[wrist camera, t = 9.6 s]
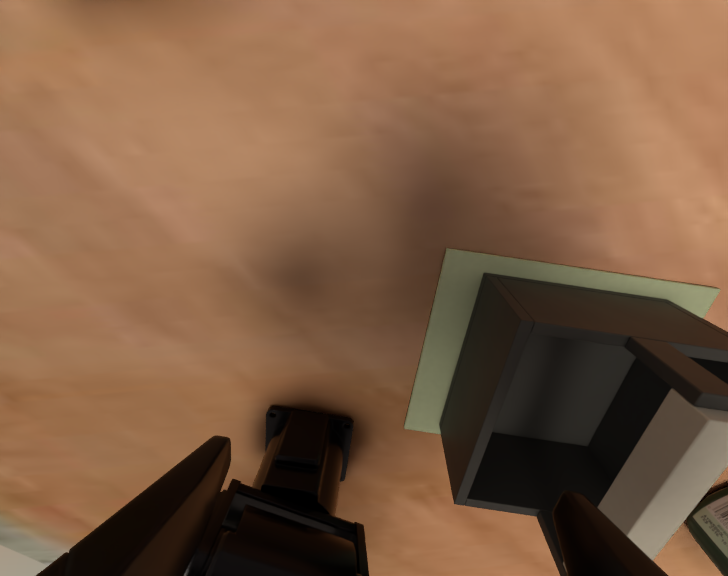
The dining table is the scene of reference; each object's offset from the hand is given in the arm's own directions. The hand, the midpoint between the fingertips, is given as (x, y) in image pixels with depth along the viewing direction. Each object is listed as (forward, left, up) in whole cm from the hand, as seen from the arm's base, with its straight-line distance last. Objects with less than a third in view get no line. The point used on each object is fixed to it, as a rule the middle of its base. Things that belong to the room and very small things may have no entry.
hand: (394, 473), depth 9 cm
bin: (-4, -11, -13) cm, 17 cm away
